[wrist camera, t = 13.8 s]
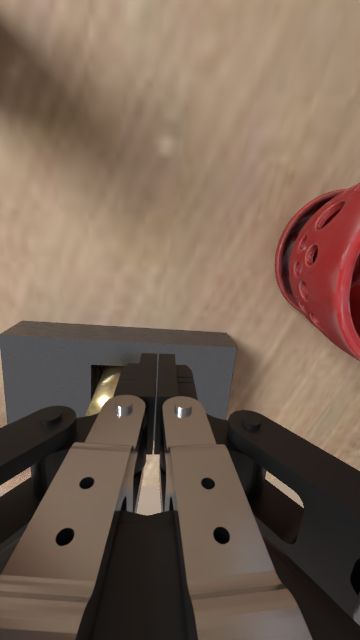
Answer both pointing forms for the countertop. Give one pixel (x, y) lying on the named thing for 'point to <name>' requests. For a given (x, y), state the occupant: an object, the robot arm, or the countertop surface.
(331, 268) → the plant pot
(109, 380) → the gold cylinder
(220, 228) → the countertop surface
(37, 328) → the jig
